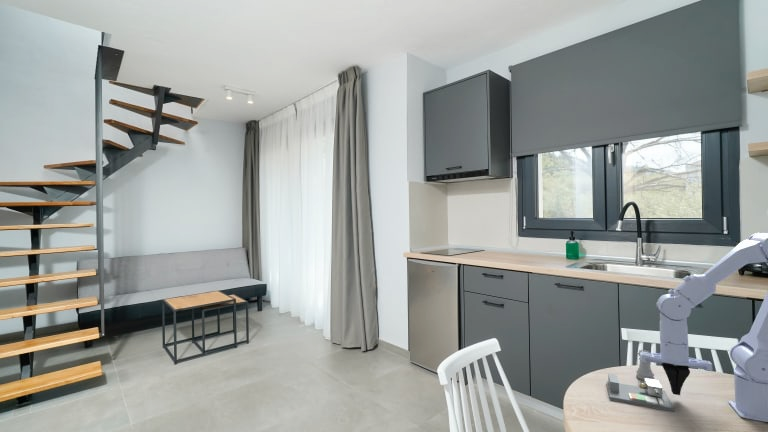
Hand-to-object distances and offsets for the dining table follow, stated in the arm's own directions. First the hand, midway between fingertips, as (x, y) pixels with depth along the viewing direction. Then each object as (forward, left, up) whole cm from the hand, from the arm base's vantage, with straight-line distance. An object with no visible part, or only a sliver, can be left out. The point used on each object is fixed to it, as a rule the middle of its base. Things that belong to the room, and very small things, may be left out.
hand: (675, 393), depth 92 cm
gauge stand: (+8, +2, -2) cm, 9 cm away
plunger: (+5, +1, -1) cm, 6 cm away
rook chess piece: (+5, -12, -2) cm, 13 cm away
